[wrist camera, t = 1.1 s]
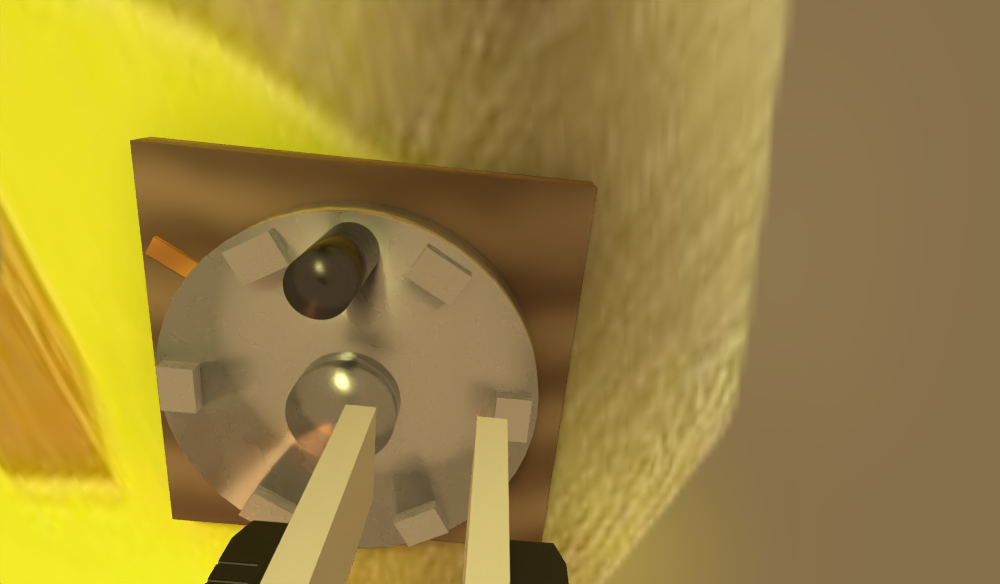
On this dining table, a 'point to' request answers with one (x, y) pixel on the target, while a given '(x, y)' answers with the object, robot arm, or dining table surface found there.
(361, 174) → the base plate
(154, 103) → the dining table surface
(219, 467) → the crank wheel
